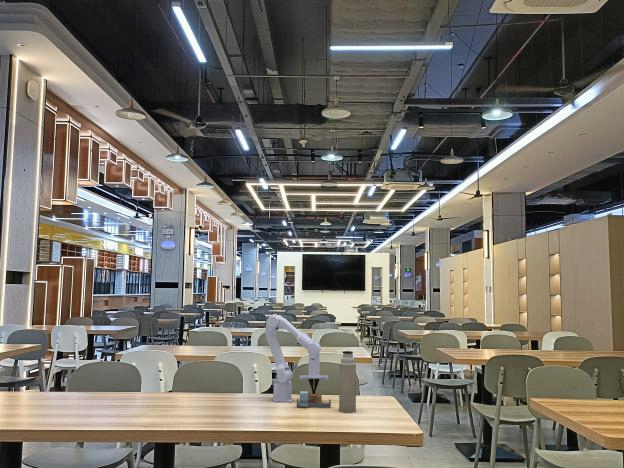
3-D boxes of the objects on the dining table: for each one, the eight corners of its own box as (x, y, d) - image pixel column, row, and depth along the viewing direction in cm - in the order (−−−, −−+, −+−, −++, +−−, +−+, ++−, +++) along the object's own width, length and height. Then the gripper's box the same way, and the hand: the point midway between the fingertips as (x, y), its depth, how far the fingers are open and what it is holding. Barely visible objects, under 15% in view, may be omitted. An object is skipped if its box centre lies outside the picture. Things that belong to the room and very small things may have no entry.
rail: (296, 407, 274) (296, 399, 274) (296, 406, 277) (296, 398, 277) (330, 407, 274) (330, 400, 274) (330, 406, 277) (330, 399, 277)
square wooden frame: (305, 404, 282) (305, 395, 283) (305, 400, 290) (305, 393, 291) (321, 404, 282) (321, 396, 283) (321, 401, 290) (321, 393, 291)
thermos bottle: (356, 409, 271) (357, 350, 273) (354, 413, 263) (355, 352, 266) (340, 408, 272) (341, 350, 275) (337, 412, 264) (338, 351, 267)
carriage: (299, 406, 273) (299, 393, 274) (299, 404, 278) (300, 391, 279) (307, 406, 273) (308, 393, 274) (307, 404, 278) (308, 391, 279)
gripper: (299, 367, 284) (299, 395, 283) (328, 368, 284) (328, 395, 283) (300, 366, 291) (299, 392, 290) (328, 366, 291) (327, 393, 290)
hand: (313, 394), depth 287 cm, fingers closed, pressing on gauge button
